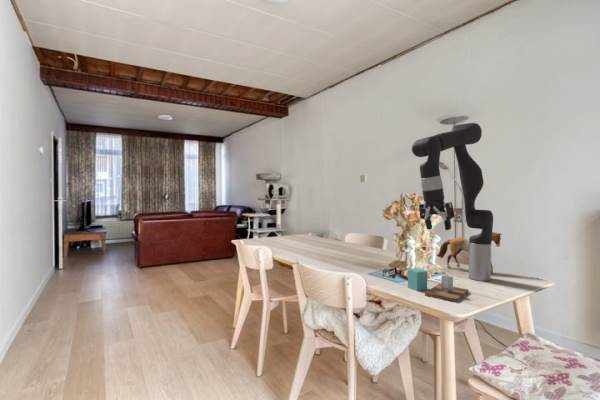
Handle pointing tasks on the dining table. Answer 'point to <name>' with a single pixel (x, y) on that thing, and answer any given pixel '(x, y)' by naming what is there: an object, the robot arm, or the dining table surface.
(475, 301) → the dining table surface
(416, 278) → the teal foam cube
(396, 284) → the dining table surface
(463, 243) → the horse figurine
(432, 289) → the board
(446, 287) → the post
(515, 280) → the dining table surface
